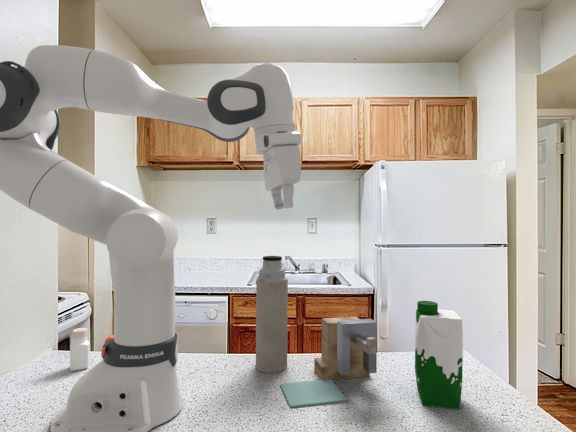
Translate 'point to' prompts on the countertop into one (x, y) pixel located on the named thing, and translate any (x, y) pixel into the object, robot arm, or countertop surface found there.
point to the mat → (312, 393)
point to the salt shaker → (79, 350)
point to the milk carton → (438, 355)
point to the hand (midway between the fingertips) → (283, 208)
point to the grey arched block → (344, 333)
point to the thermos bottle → (271, 316)
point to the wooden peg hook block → (328, 361)
